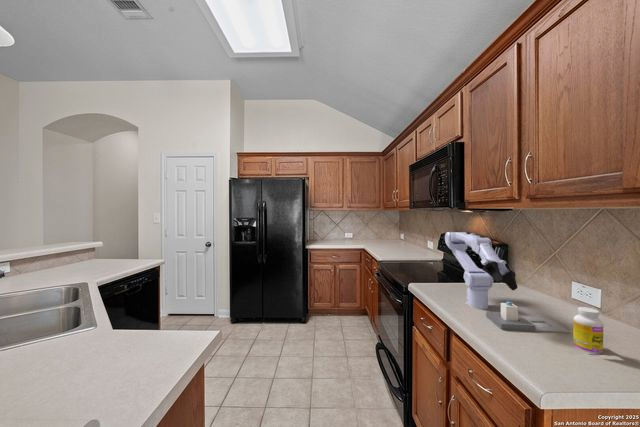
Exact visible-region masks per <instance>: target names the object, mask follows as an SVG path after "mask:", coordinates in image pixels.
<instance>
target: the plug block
mask: <svg viewBox="0 0 640 427" xmlns="http://www.w3.org/2000/svg"><path fill="white" fill-rule="evenodd" d="M500 312H501V318H503V319H504V320H505V321H518V314H519V307H518V306H517V305H516V304H514V303H513V302H512V301H507V300H506V302H500Z"/></svg>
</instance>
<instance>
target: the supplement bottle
mask: <svg viewBox="0 0 640 427" xmlns="http://www.w3.org/2000/svg"><path fill="white" fill-rule="evenodd" d="M577 312H578V314H576V315H575V316H573V327H572V328H573V332H572V333H573V334H572V335H573V337H572V338H573V339H572V345H573V346H574V347H575V348H577V349H579V350H580V351H584V352H588V353H589V355H590V356H601V355H602V354H601V353H604V322H603V321H602V320H601V319H600V318H599V316H600V311H599V310H597V309H595V308H591V307H586V306H585V307H584V306H579V307H578V308H577Z"/></svg>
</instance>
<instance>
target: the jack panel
mask: <svg viewBox="0 0 640 427" xmlns="http://www.w3.org/2000/svg"><path fill="white" fill-rule="evenodd" d="M485 317H486V318H487V319H488V320H489V321H491V322H492V324H494V325H495V326H497V328H499V329H500V330H501V331H502V330H503V331H518V332H519V331H520V332H521V331H522V332H536V333H537V332H538V333H556V334H571V331H570V330H568V329H566V328H565V327H563V326H561V325H559V324H557V323H556V322H554V321H552V320H551V319H549V318H547V317H530V316H527V317H526V316H522V315H520V314H519V313H518V321H505V320H504V319H503V318H501V311H488V310H487V311H485ZM535 323H541V324H542V323H544V324H546V325H547V326H540V325H539V326H538V325H537V324H535Z"/></svg>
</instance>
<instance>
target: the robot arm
mask: <svg viewBox="0 0 640 427" xmlns="http://www.w3.org/2000/svg"><path fill="white" fill-rule="evenodd" d="M444 241H445V242H444V243H445V244H446V246H447V247H448V249H450V250H451V252H452V254H453V256H455V259H456V260H457V262H458V263H459V265H461V267H462V268H463V270H464V273H463V279H464V282H465V285H466V287H467V289H466V302H464V304H465V305H469V307H471V308H474V309H477V310H487V309H488V308H489V290H491V288H492V287H493V285H494V281H495V282H496V283H498V284H499V283H501V282H503V283H504V284H506V286H507V287H508V288H509V289H510V290H511V291H515V290H517V289H518V284H517V281H516V272H515V271H513V270H509V269H508V268H507V267H506V264H507V261H506V260H503V259H501V258H500V257H499V256H498V254H497V253H496V251H495V249H494V248H493V244H492V241H491V239H490V238H489V237H481V235H476V233H473V232H472V233H469V234H468V232H466V231H461V232H459V231H458V232H456V231H451V232H449V231H447V232H446V233H445V234H444ZM468 247H469V248H471V250H472V251H473V252H475V254H477V255H479V258H480V259H481V260H480V262H481V264H482V266H483V267H482V268H479V267H478V266H477V265H476V263H475V261H473V260H472V258H471V257H470V255H468V253H467V252H466V250H467V249H468Z"/></svg>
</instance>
